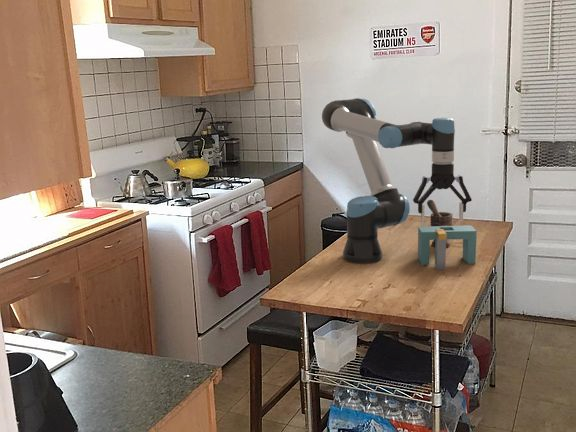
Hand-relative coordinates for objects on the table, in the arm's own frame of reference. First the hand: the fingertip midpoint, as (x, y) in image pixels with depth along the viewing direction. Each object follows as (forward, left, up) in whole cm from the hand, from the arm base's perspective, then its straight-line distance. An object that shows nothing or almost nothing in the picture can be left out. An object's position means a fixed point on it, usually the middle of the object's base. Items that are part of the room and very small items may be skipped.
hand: (441, 221), depth 237 cm
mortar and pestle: (+5, +28, -18) cm, 34 cm away
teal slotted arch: (+4, +9, -18) cm, 20 cm away
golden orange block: (0, 0, -18) cm, 18 cm away
